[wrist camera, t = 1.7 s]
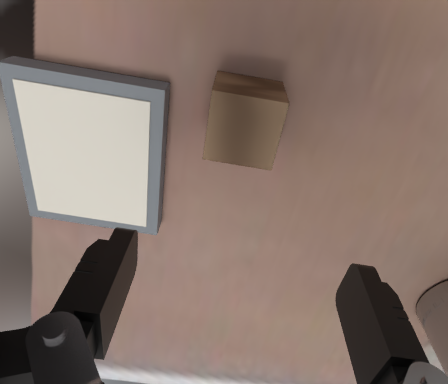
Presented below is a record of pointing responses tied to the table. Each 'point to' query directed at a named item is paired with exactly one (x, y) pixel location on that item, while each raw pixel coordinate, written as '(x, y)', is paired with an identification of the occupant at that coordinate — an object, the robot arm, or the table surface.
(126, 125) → the board
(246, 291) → the table surface
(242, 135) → the cube
